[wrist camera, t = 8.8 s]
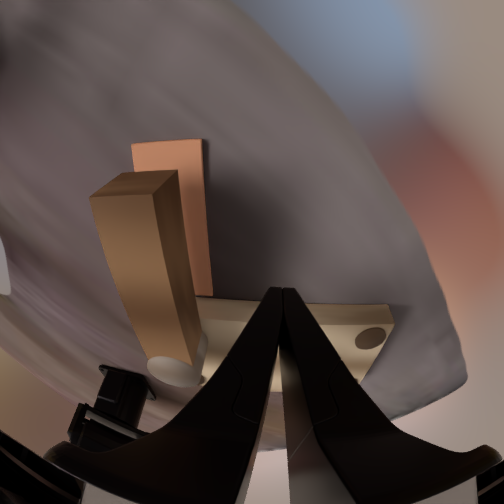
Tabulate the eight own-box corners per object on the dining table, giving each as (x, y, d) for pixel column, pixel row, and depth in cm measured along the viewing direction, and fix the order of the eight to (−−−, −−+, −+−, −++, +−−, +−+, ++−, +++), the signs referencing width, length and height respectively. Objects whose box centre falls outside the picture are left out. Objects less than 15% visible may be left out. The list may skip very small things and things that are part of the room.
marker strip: (213, 293, 19) (212, 296, 19) (160, 288, 19) (159, 291, 19) (201, 138, 13) (200, 139, 13) (133, 143, 13) (131, 144, 13)
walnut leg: (210, 354, 19) (203, 390, 17) (166, 348, 20) (155, 382, 17) (184, 169, 12) (157, 196, 9) (117, 173, 12) (80, 200, 9)
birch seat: (352, 373, 24) (355, 391, 22) (183, 365, 25) (179, 383, 23) (387, 304, 18) (395, 325, 17) (161, 293, 19) (152, 314, 17)
